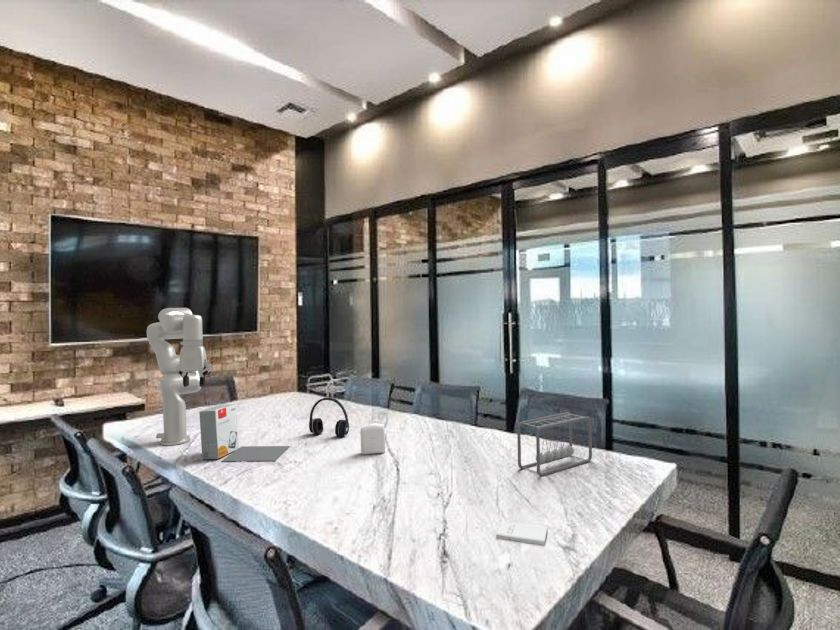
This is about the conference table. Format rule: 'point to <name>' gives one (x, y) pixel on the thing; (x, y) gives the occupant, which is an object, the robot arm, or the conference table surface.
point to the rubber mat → (256, 453)
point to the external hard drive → (522, 532)
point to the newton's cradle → (554, 453)
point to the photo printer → (372, 438)
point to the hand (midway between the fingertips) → (194, 385)
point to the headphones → (317, 423)
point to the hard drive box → (219, 431)
